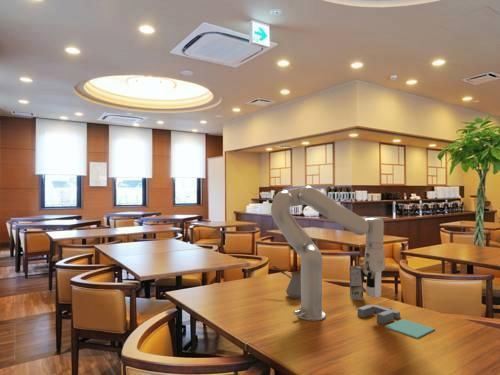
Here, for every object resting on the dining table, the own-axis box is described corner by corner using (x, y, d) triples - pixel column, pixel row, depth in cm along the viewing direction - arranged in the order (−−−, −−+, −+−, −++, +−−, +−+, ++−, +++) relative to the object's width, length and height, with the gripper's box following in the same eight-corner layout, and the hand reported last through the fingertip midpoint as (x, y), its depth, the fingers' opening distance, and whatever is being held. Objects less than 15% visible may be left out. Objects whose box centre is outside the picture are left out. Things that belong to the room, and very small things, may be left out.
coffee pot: (311, 296, 193) (310, 268, 193) (301, 301, 183) (301, 272, 184) (277, 289, 205) (277, 263, 205) (266, 294, 196) (266, 267, 196)
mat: (417, 338, 137) (417, 337, 137) (384, 327, 148) (384, 326, 148) (434, 330, 145) (434, 328, 145) (402, 320, 156) (402, 318, 156)
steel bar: (375, 297, 156) (375, 270, 156) (366, 295, 160) (366, 268, 160) (381, 295, 159) (381, 269, 159) (372, 293, 163) (372, 267, 163)
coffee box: (363, 300, 185) (363, 269, 185) (350, 299, 186) (350, 268, 186) (361, 295, 194) (361, 265, 194) (349, 294, 195) (349, 265, 195)
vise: (383, 324, 152) (382, 316, 152) (357, 315, 162) (357, 308, 162) (403, 315, 162) (403, 308, 162) (378, 308, 172) (378, 301, 172)
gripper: (370, 248, 152) (369, 291, 151) (392, 245, 162) (391, 285, 162) (355, 245, 158) (355, 287, 157) (377, 243, 168) (377, 281, 168)
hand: (373, 285), depth 160 cm, fingers closed on steel bar, 4 cm apart
